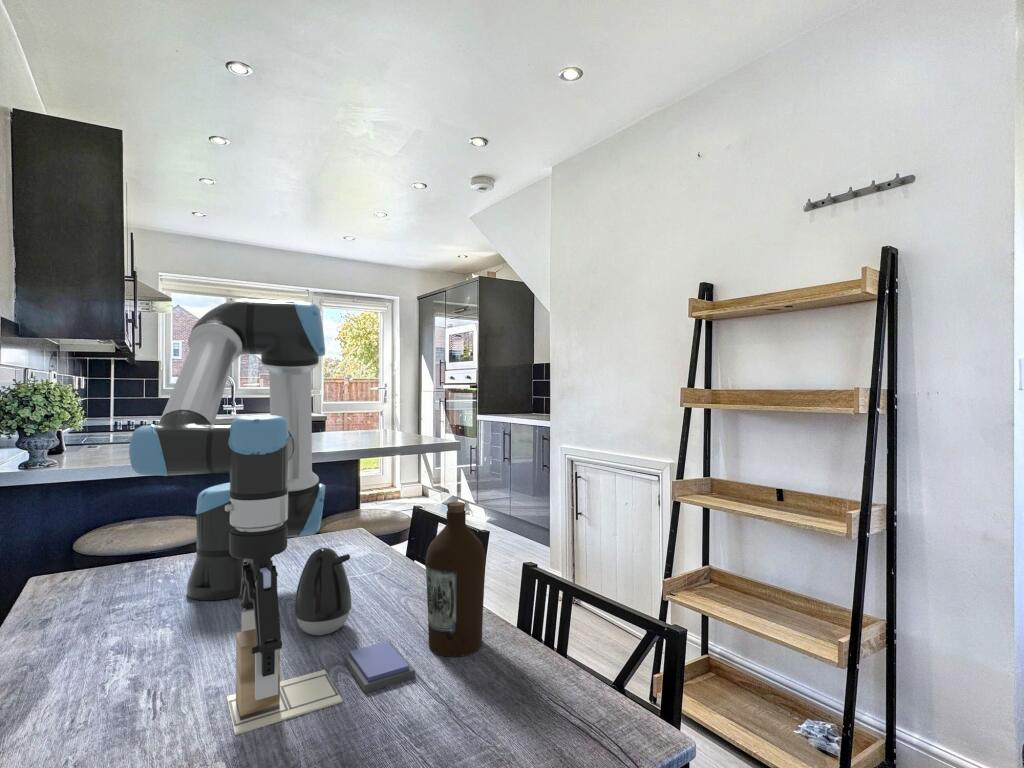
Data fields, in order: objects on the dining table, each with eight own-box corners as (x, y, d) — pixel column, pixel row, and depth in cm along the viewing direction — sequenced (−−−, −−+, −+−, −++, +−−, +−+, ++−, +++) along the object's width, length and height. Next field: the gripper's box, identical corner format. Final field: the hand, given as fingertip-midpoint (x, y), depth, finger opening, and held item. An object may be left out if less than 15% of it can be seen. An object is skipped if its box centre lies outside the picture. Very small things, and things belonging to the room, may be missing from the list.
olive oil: (453, 625, 105) (454, 495, 105) (497, 641, 99) (498, 502, 98) (412, 647, 96) (413, 504, 96) (457, 665, 90) (458, 513, 90)
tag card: (226, 698, 80) (226, 695, 80) (324, 671, 88) (324, 669, 88) (234, 735, 72) (234, 732, 72) (342, 702, 80) (342, 699, 80)
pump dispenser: (334, 644, 97) (335, 558, 97) (282, 638, 99) (282, 554, 99) (362, 620, 107) (362, 542, 107) (313, 615, 109) (314, 538, 109)
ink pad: (343, 661, 91) (343, 650, 91) (390, 648, 95) (390, 638, 95) (365, 693, 82) (365, 681, 82) (415, 677, 86) (415, 666, 86)
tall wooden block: (273, 691, 81) (273, 624, 81) (279, 708, 77) (280, 638, 77) (235, 702, 79) (236, 632, 79) (240, 720, 75) (240, 647, 75)
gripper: (220, 509, 86) (220, 642, 87) (241, 553, 65) (240, 729, 66) (271, 503, 90) (271, 631, 91) (306, 543, 70) (305, 709, 70)
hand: (258, 672), depth 78 cm, fingers open, 13 cm apart
